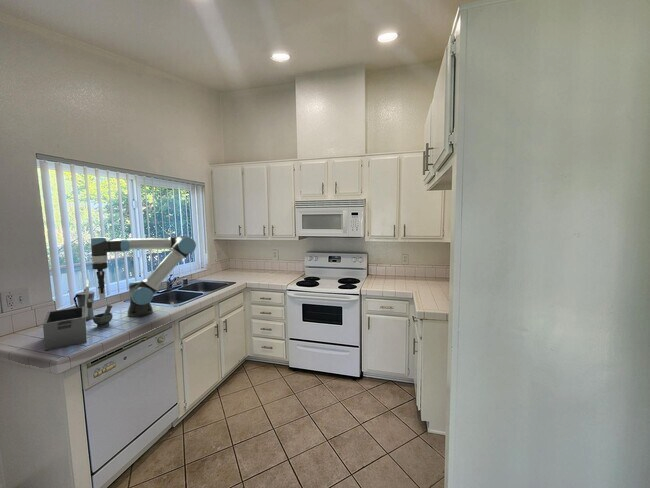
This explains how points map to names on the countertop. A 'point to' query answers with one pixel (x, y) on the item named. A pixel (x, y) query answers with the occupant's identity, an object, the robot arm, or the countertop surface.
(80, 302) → the moka pot
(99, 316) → the mortar and pestle
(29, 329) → the countertop surface
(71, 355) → the countertop surface
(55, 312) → the storage box
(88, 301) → the cream box lid
